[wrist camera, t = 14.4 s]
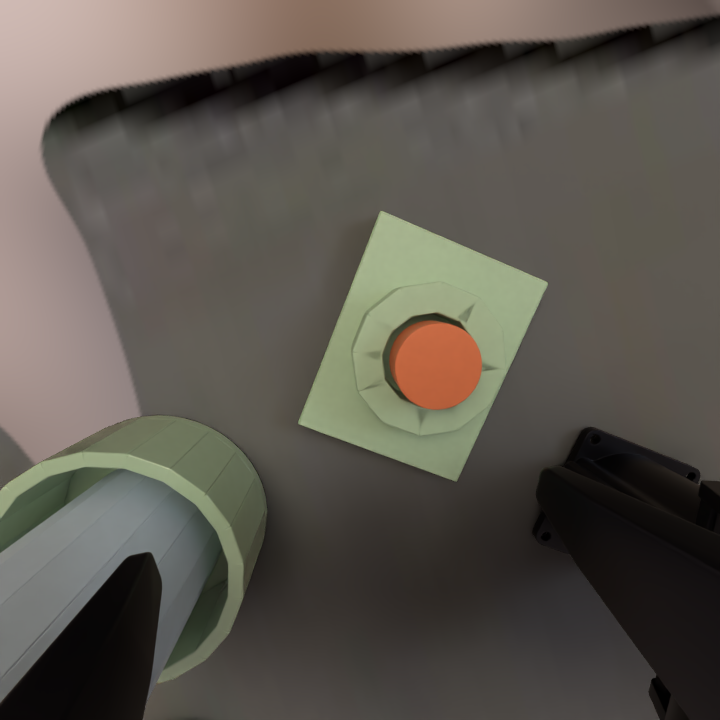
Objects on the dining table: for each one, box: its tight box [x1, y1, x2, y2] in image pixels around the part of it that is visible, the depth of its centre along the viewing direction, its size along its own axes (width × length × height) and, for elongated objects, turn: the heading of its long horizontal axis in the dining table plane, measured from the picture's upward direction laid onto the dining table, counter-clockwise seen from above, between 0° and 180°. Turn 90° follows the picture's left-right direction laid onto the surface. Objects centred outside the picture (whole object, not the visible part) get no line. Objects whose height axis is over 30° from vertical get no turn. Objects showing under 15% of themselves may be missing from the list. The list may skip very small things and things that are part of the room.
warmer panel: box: [298, 211, 548, 482], centre depth 16 cm, size 8×10×3 cm
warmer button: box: [389, 320, 482, 410], centre depth 14 cm, size 3×3×2 cm
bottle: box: [0, 469, 222, 703], centre depth 11 cm, size 6×6×14 cm
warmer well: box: [0, 415, 267, 684], centre depth 16 cm, size 10×10×4 cm
